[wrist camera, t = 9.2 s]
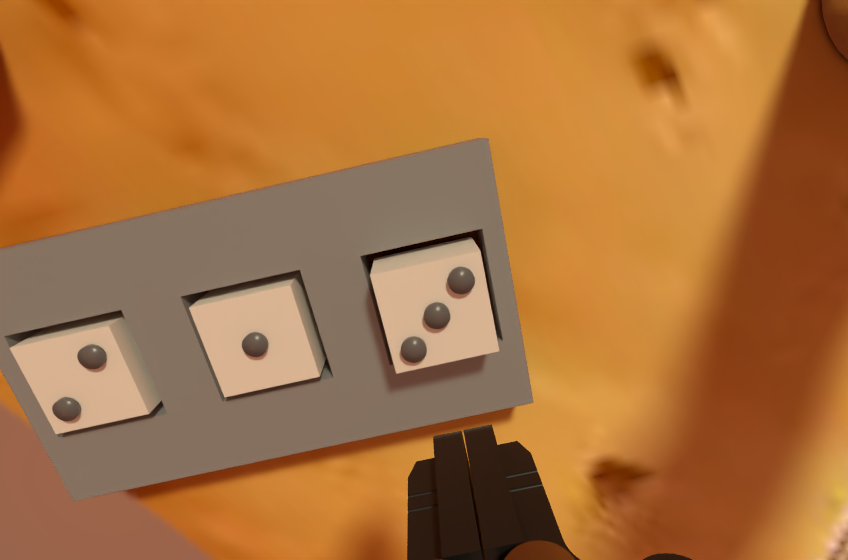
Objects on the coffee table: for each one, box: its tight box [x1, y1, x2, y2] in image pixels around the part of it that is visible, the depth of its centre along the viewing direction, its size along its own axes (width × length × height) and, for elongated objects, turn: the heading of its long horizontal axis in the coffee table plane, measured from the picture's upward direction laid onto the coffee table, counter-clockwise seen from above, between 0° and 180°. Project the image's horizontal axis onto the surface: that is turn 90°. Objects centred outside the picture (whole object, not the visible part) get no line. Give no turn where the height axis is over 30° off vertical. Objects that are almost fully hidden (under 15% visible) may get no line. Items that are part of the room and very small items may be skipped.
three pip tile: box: [370, 237, 499, 374], centre depth 23 cm, size 5×5×3 cm
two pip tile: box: [10, 310, 161, 434], centre depth 25 cm, size 5×5×3 cm
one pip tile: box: [189, 270, 327, 397], centre depth 24 cm, size 5×5×3 cm
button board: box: [0, 138, 533, 501], centre depth 25 cm, size 26×14×2 cm, turn 103°
